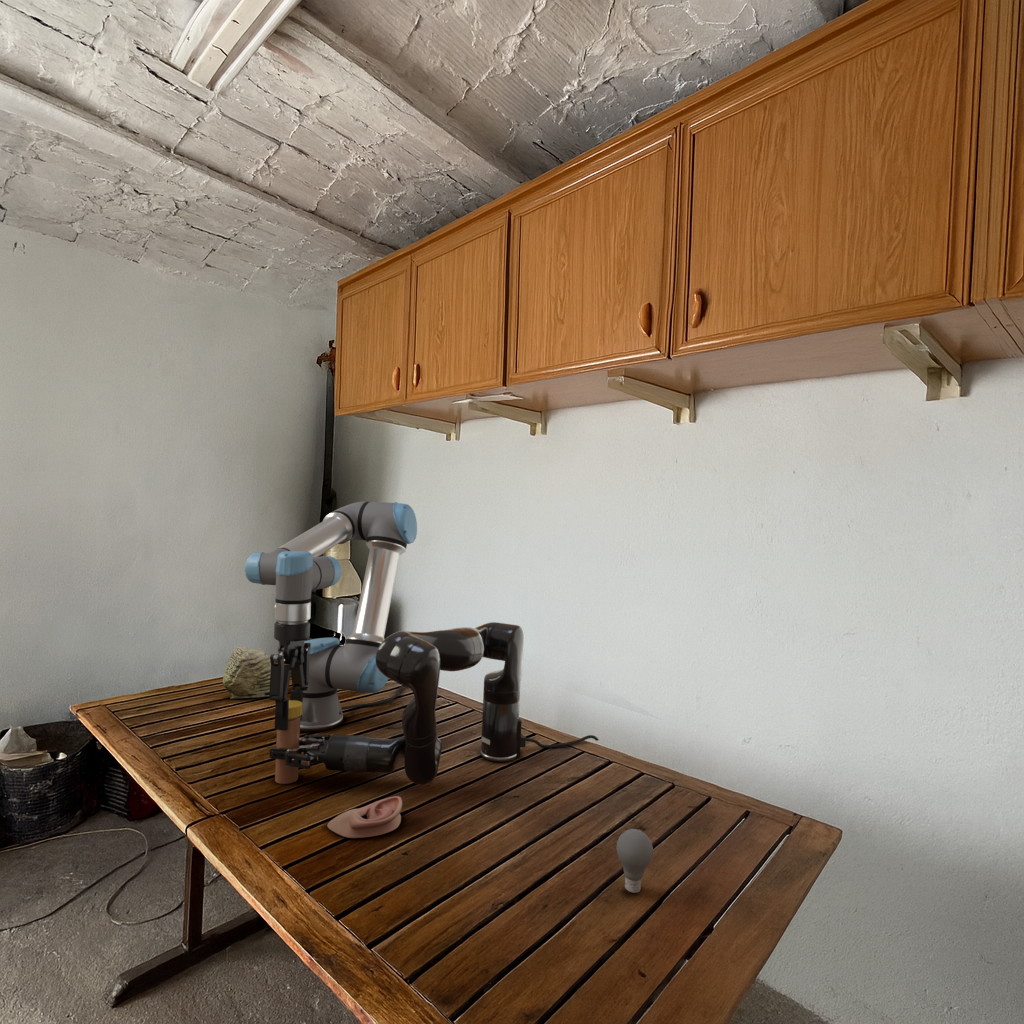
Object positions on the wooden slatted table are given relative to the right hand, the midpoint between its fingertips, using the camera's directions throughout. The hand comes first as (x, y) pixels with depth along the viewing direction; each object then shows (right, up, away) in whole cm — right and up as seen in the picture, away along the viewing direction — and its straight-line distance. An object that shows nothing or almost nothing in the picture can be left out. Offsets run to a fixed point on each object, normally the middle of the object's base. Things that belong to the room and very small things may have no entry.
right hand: (276, 748), depth 141 cm
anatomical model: (+24, -8, -18) cm, 31 cm away
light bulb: (+73, -11, -36) cm, 82 cm away
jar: (+2, -7, 0) cm, 7 cm away
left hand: (+3, +5, 0) cm, 6 cm away
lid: (+3, +10, 0) cm, 10 cm away
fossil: (-28, -5, +57) cm, 63 cm away
